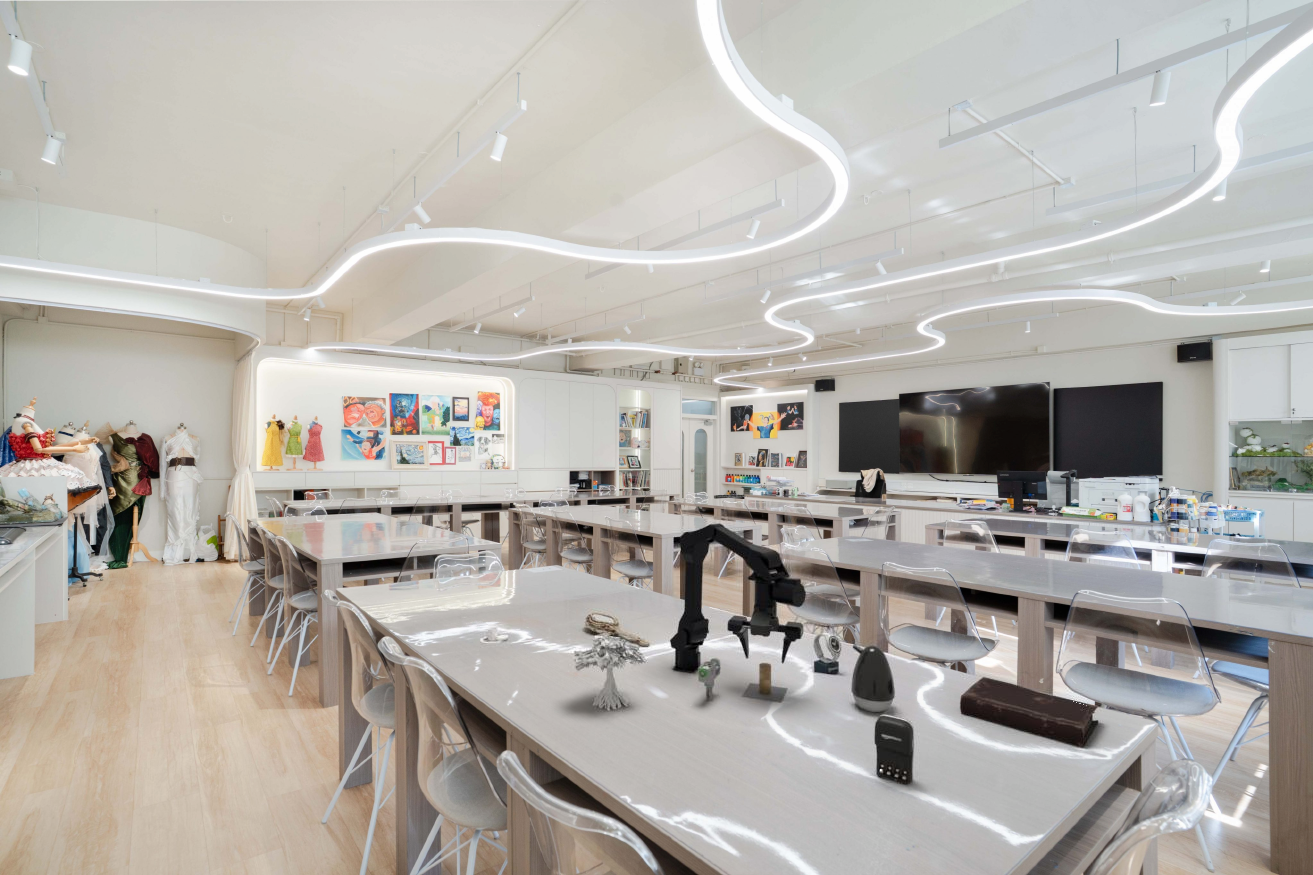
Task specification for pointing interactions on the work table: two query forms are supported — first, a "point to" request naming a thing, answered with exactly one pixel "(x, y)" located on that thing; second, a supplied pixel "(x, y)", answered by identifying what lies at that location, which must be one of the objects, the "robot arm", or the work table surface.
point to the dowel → (765, 678)
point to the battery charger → (894, 748)
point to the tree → (609, 665)
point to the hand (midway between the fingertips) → (764, 660)
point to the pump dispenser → (872, 680)
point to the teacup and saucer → (493, 636)
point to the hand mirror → (609, 627)
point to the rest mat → (753, 692)
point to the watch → (825, 663)
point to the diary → (1030, 711)
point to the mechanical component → (709, 675)
